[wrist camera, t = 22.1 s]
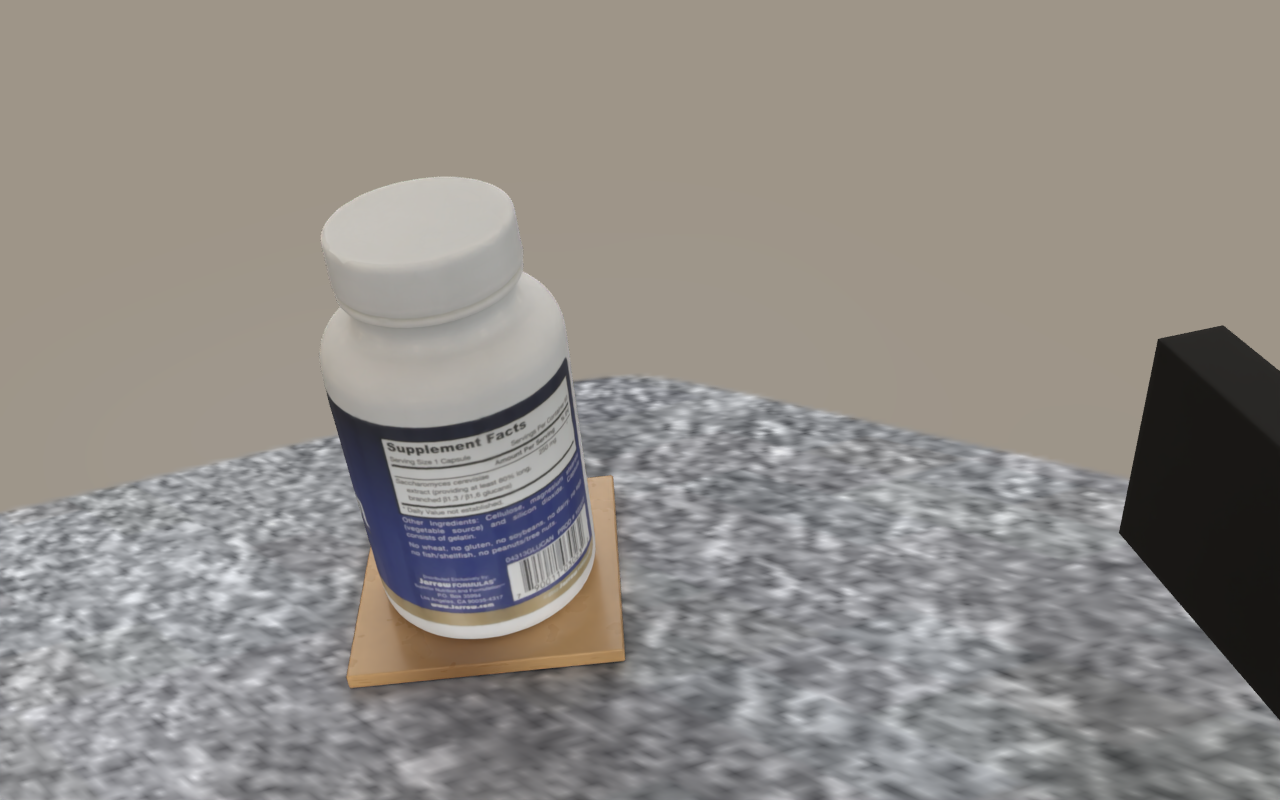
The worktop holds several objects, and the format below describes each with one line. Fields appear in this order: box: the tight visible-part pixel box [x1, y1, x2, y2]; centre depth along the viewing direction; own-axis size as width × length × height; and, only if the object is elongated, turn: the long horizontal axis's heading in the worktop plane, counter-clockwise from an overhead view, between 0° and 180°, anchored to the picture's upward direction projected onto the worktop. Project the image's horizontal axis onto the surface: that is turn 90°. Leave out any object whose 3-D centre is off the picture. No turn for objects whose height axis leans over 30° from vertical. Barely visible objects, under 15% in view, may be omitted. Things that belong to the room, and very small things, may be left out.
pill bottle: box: [319, 177, 596, 639], centre depth 27 cm, size 5×5×10 cm
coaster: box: [346, 475, 625, 688], centre depth 30 cm, size 6×6×1 cm
